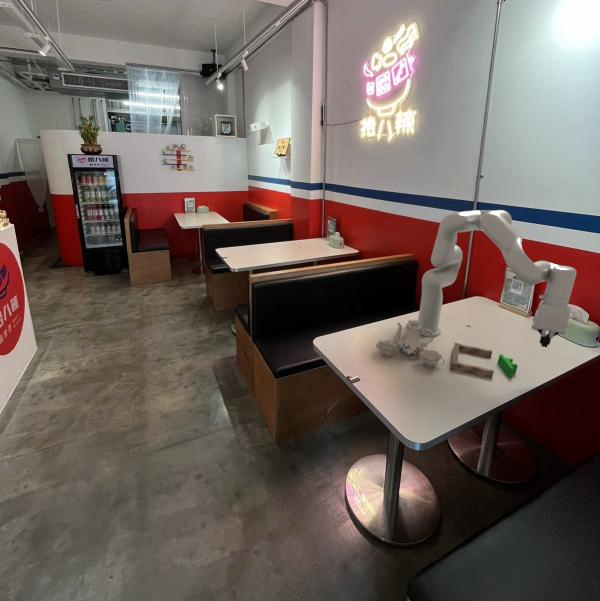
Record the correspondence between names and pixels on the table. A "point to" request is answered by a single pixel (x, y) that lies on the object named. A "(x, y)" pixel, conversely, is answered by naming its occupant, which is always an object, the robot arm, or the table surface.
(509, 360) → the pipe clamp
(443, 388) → the table surface
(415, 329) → the chinaware
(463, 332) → the table surface
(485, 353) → the frame
